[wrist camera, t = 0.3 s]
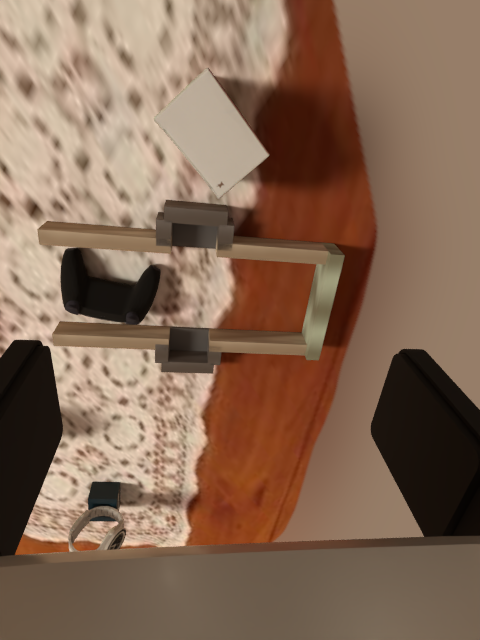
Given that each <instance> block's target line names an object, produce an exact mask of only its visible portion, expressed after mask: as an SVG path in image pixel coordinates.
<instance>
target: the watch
mask: <svg viewBox="0 0 480 640" xmlns="http://www.w3.org/2000/svg"><path fill="white" fill-rule="evenodd" d="M119 507H120V482H92V486H91V490H90V493H89V497H88V509H89V511H88V510H86V511H85V512H84V513H83V514H82V515H81V516H80V517H79V518H78V519H77V520H76V522H75V523H74V524H73V526H72V527H71V529H70V532H69V538H68V539H69V551H70V552H75V551H77V550H76V549H74V547H73V545H72V543H74V540H75V539H76V538H77V536H78V534H79V533H80V532H81V530H82V529H83V528H84V527H85V526H86V525H87V524H88V523H89V521H117V522H118V523H119V524H118V525H117V526H114V527H113V528H112V529H111V530H110V531H109V532H108V533H107V534H106V536H105V537H104V539H103V541H102V543H101V545H100V547H99V548H98V549H96V550H114V549H120V547H121V545H122V543H123V541H124V538H125V535H126V529H125V528H124V519H123V516H122V515H121V513H120V512H119Z"/></svg>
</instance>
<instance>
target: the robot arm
mask: <svg viewBox="0 0 480 640" xmlns="http://www.w3.org/2000/svg"><path fill="white" fill-rule="evenodd" d="M62 431H63V425H62V418H61V412H60V406H59V400H58V394H57V388H56V382H55V376H54V370H53V364H52V358H51V352H50V348H49V347H48V346H43V344H42V342H41V341H39V340H14V341H13V342H12V343H11V345H10V346H9V347H8V349H7V350H6V351H5V353H4V354H3V355H2V357H1V358H0V640H480V410H479V409H478V408H477V407H476V406H475V404H474V403H473V402H472V401H471V400H470V399H469V398H468V397H467V396H466V395H465V394H464V393H463V392H462V390H461V389H460V388H459V387H458V386H457V385H456V384H455V383H454V382H453V381H452V379H451V378H450V377H449V376H448V375H447V374H446V373H445V372H444V371H443V370H442V368H441V367H440V366H439V365H438V364H437V363H436V362H435V361H434V360H433V359H432V358H431V356H429V354H428V353H427V352H426V351H424V350H420V349H403V350H401V351H400V352H399V354H396V355H394V357H393V359H392V362H391V365H390V368H389V371H388V374H387V377H386V380H385V383H384V386H383V389H382V392H381V396H380V399H379V402H378V405H377V408H376V411H375V414H374V417H373V420H372V423H371V435H372V437H373V439H374V441H375V443H376V445H377V447H378V449H379V451H380V453H381V455H382V457H383V459H384V460H385V462H386V464H387V466H388V468H389V470H390V472H391V474H392V476H393V478H394V480H395V481H396V483H397V485H398V487H399V489H400V491H401V493H402V495H403V497H404V499H405V501H406V502H407V504H408V506H409V508H410V510H411V512H412V514H413V516H414V518H415V520H416V522H417V523H418V525H419V527H420V529H421V531H422V533H423V535H424V537H411V538H410V537H409V538H381V539H352V540H324V541H299V542H273V543H249V544H225V545H201V546H179V547H157V548H136V549H114V550H92V551H75V552H59V553H43V554H27V555H15V552H16V550H17V547H18V545H19V542H20V540H21V537H22V535H23V532H24V530H25V527H26V525H27V522H28V520H29V517H30V515H31V512H32V510H33V507H34V505H35V502H36V500H37V497H38V495H39V492H40V490H41V487H42V485H43V482H44V480H45V478H46V475H47V473H48V470H49V468H50V465H51V463H52V460H53V458H54V455H55V453H56V450H57V448H58V445H59V443H60V440H61V437H62Z"/></svg>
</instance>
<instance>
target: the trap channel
mask: <svg viewBox="0 0 480 640" xmlns="http://www.w3.org/2000/svg"><path fill="white" fill-rule="evenodd" d="M173 223H180V224H192V225H205V226H217V227H218V228H217V240H216V255H217V257H225V258H239V259H253V260H267V261H281V262H296V263H310V264H317V265H316V269H315V274H314V279H313V283H312V288H311V293H310V297H309V302H308V306H307V311H306V316H305V320H304V325H303V330H302V333H296V332H274V331H253V330H231V329H209V336H208V348H207V351H183V350H169V346H170V327H166V326H144V325H122V324H101V323H79V322H59V324H58V326H57V327H56V329H55V331H54V332H53V334H52V336H53V343H54V346H75V347H101V348H127V349H153V350H155V363H162V372H181V373H213V368H214V365H220V360H221V352H232V353H258V354H285V355H305V357H306V359H307V360H319V357H320V353H321V349H322V345H323V341H324V337H325V333H326V329H327V325H328V321H329V317H330V313H331V309H332V305H333V301H334V297H335V293H336V289H337V285H338V281H339V277H340V273H341V269H342V265H343V261H344V257H345V255H344V254H343V253H342V252H341V251H340V250H339V248H338V247H337V246H336V245H335V244H332V243H319V242H306V241H293V240H281V239H268V238H255V237H242V236H233V235H234V223H233V219H232V218H228V210H227V206H226V205H217V204H206V203H195V202H183V201H172V200H166V202H165V206H164V213H162V212H158V215H157V218H156V230H153V229H140V228H127V227H114V226H102V225H89V224H76V223H63V222H50V221H47V222H46V223H44V224H43V225H42V226H41V227H40V228H38V229H37V230H38V237H39V244H40V245H55V246H69V247H83V248H97V249H111V250H125V251H140V252H154V253H168V254H171V250H172V236H173Z"/></svg>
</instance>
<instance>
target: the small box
mask: <svg viewBox="0 0 480 640" xmlns="http://www.w3.org/2000/svg"><path fill="white" fill-rule="evenodd" d="M154 121H155V122H156V123H157V124H158V125H159V126H160V127H161V129H162V130H163V131H164V132H165V133H166V134H167V135H168V137H169V138H170V139H171V140H172V141H173V143H174V144H175V145H176V146H177V147H178V149H179V150H180V151H181V152H182V154H183V155H184V156H185V157H186V158H187V160H188V161H189V162H190V163H191V165H192V166H193V167H194V168H195V169H196V171H197V172H198V173H199V174H200V176H201V177H202V178H203V179H204V181H205V182H206V183H207V185H208V186H209V187H210V189H211V190H212V191H213V193H214V194H215V195H216V197H217V198H218V199H219V198H221V197H222V196H223V195H224V194H225V193H227V192H228V191H229V190H230V189H231V188H232V187H234V186H235V185H236V184H237V183H238V182H239V181H241V180H242V179H243V178H244V177H245V176H246V175H248V174H249V173H250V172H251V171H252V170H253V169H255V168H256V167H257V166H258V165H259V164H260V163H262V162H263V161H264V160H265V159H266V158H267V157H269V153H268V151H267V150H266V149H265V147H264V146H263V144H262V143H261V141H260V140H259V139H258V137H257V136H256V134H255V133H254V131H253V130H252V128H251V127H250V126H249V124H248V123H247V121H246V120H245V118H244V117H243V115H242V114H241V113H240V111H239V110H238V108H237V107H236V106H235V104H234V103H233V101H232V100H231V99H230V97H229V96H228V94H227V93H226V92H225V90H224V89H223V87H222V86H221V85H220V83H219V82H218V81H217V79H216V78H215V76H214V75H213V74H212V72H211V71H210V69H209V68H206V69H205V70H204V71H203V72H202V73H200V74H199V75H198V76H197V77H196V78H195V79H194V80H193V81H192V82H191V83H190V84H189V85H187V86H186V87H185V88H184V89H183V90H182V91H181V92H180V93H179V94H178V95H177V96H176V97H175V98H174V99H173V100H172V101H171V102H170V103H169V104H168V105H167V106H166V107H165V108H164V109H162V110H161V111H160V112H159V113H158V114H157V115H156V116H155V117H154Z"/></svg>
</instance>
